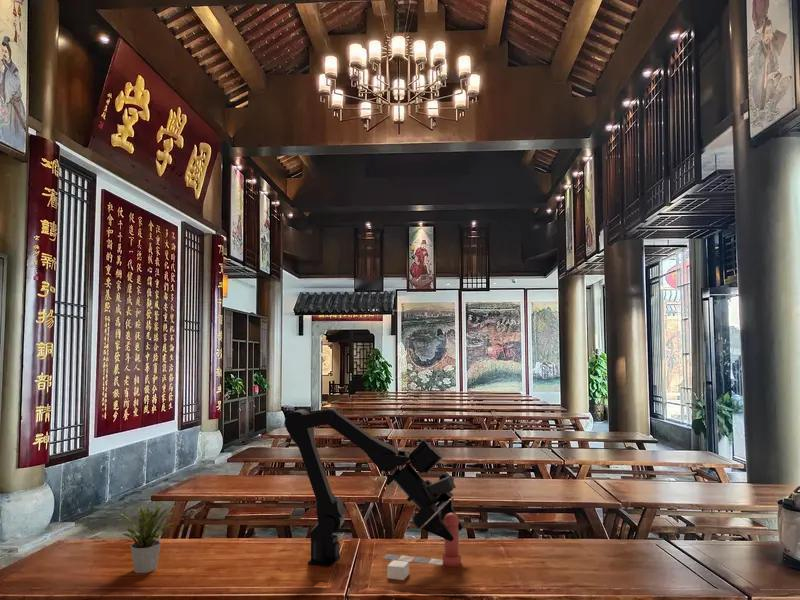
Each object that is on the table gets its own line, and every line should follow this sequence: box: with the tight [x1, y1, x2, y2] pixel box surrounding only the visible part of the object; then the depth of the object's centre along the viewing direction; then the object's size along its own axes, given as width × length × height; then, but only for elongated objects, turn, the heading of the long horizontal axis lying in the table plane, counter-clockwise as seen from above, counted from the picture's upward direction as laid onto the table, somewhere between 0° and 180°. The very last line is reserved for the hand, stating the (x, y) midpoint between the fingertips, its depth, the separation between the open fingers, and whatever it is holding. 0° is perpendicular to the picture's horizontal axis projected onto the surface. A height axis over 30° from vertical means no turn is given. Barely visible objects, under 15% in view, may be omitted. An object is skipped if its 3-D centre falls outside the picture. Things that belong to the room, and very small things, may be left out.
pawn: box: [442, 513, 462, 568], centre depth 155 cm, size 5×5×12 cm
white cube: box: [386, 559, 410, 581], centre depth 146 cm, size 4×4×4 cm
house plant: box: [118, 502, 179, 574], centre depth 156 cm, size 14×14×16 cm
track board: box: [382, 553, 459, 567], centre depth 157 cm, size 20×8×1 cm, turn 71°
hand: (457, 534), depth 154 cm, fingers open, 9 cm apart
